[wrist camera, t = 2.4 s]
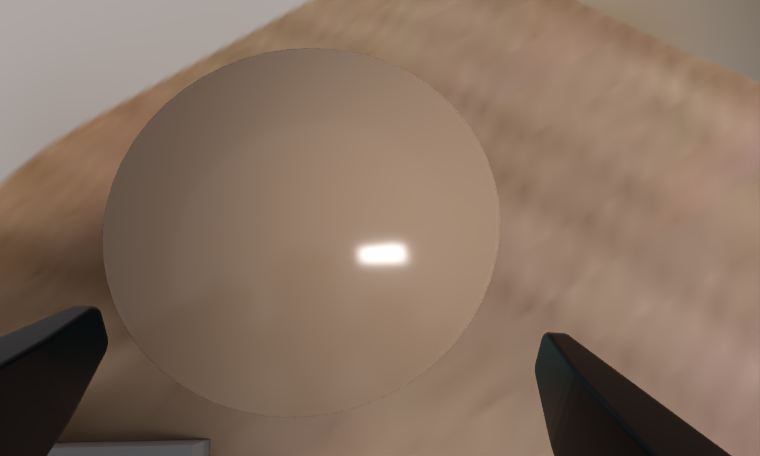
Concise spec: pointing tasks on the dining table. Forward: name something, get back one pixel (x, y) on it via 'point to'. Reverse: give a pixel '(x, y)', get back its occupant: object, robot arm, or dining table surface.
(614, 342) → the dining table surface
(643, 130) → the dining table surface
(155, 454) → the charcoal tray
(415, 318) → the teal jar
